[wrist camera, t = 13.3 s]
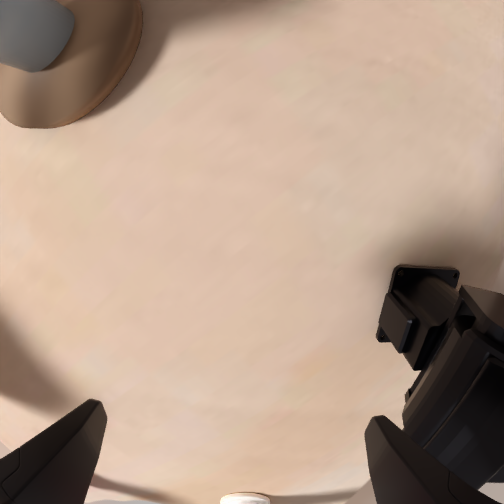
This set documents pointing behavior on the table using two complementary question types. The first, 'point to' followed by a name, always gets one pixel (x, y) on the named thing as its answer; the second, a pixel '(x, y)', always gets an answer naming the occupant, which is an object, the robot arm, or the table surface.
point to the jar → (33, 32)
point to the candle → (245, 499)
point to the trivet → (75, 67)
